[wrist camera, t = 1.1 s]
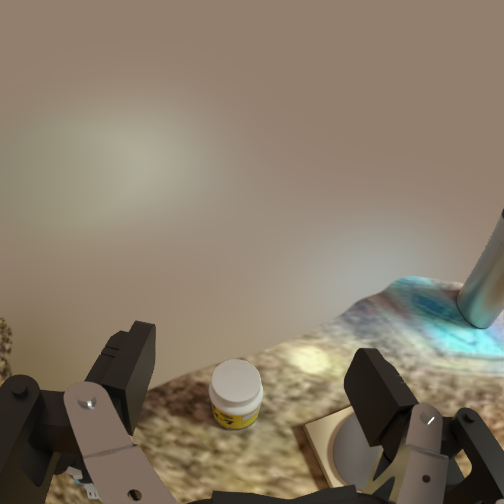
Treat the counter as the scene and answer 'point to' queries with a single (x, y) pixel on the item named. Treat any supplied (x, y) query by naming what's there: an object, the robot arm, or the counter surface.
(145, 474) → the robot arm
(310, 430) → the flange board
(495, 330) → the counter surface
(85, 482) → the push button
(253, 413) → the supplement bottle
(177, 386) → the counter surface
